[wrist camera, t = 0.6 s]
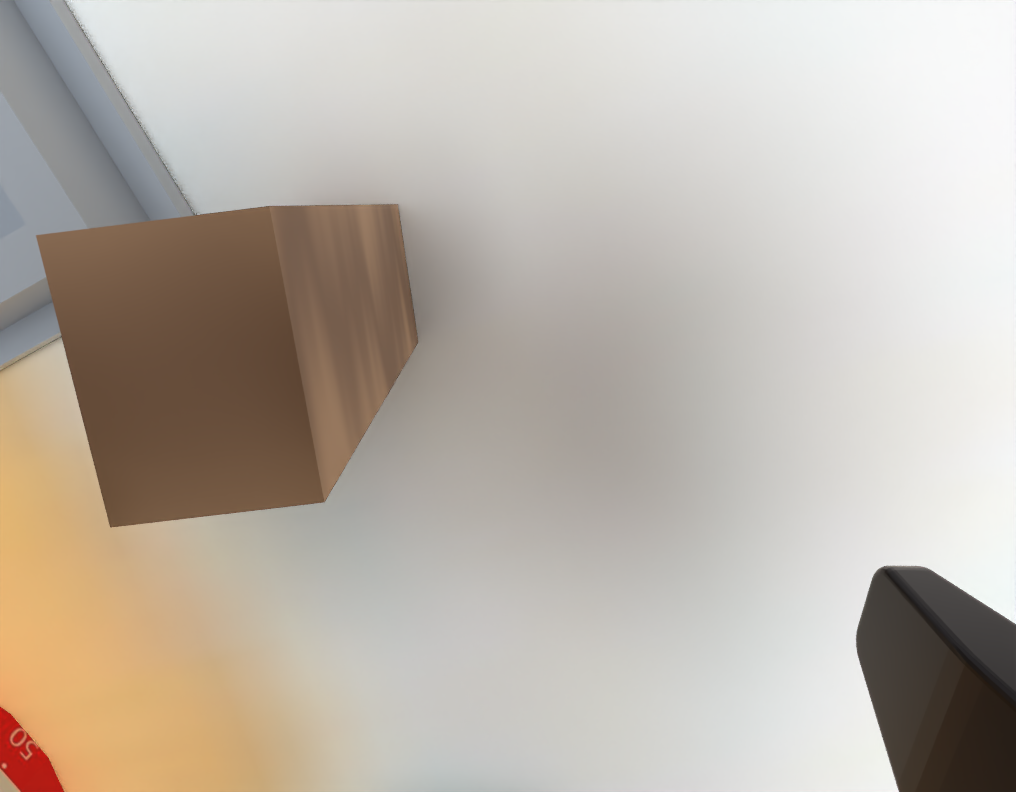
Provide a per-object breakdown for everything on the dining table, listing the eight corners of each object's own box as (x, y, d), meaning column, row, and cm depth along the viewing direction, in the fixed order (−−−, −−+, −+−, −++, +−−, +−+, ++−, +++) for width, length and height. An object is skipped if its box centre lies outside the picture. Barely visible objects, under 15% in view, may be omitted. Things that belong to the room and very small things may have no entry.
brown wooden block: (418, 342, 24) (324, 502, 11) (318, 354, 24) (110, 527, 11) (397, 204, 23) (269, 206, 10) (293, 217, 23) (35, 235, 10)
